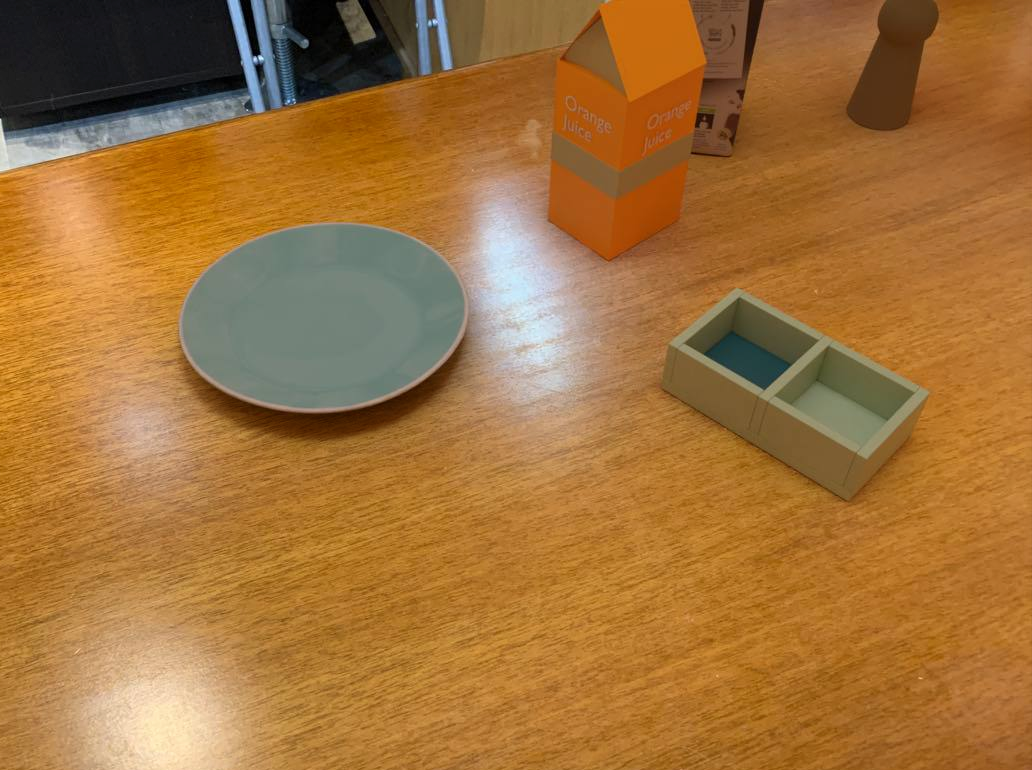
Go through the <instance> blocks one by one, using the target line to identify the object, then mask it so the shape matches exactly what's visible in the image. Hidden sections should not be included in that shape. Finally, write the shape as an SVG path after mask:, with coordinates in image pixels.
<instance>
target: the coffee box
mask: <svg viewBox="0 0 1032 770" xmlns="http://www.w3.org/2000/svg"><path fill="white" fill-rule="evenodd" d="M689 3H690V6H691V10H692V13H693V17H694V20H695V24H696V27H697V31H698V34H699V38H700V41H701V45H702V48H703V52H704V55H705V58H706V62H707V63H706V64H705V70H704V76H703V81H702V87H701V93H700V99H699V105H698V110H697V116H696V122H695V128H694V131H695V132H694V137H693V143H692V149H691V153H698V154H705V155H713V156H714V155H715V156H723V157H730V156H731V155H732V153H733V149H734V144H735V140H736V136H737V130H738V128H739V127H738V126H739V123H740V122H739V121H740V116H741V113H742V106H743V103H744V98H745V94H746V89H747V83H748V79H749V74H750V70H751V66H752V61H753V56H754V52H755V46H756V42H757V39H758V34H759V28H760V25H761V20H762V14H763V11H764V6H765V5H764V4H765V0H689Z"/></svg>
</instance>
